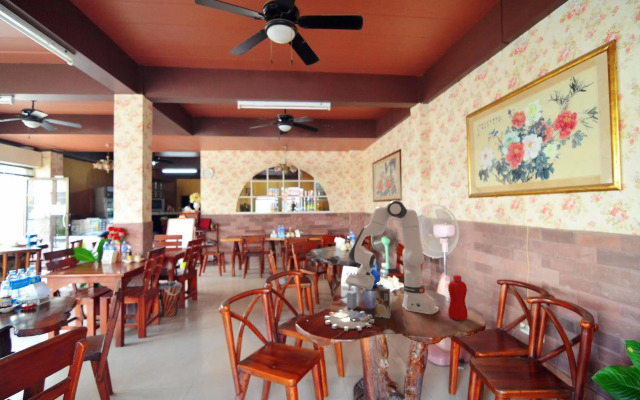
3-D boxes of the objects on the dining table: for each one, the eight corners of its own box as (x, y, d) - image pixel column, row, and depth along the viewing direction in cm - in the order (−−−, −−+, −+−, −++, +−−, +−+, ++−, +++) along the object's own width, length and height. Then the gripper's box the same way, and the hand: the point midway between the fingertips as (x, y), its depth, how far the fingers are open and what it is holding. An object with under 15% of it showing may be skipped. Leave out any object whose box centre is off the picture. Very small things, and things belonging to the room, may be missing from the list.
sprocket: (383, 319, 178) (383, 316, 178) (354, 336, 157) (354, 332, 157) (344, 308, 198) (344, 305, 198) (314, 321, 176) (314, 318, 176)
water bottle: (444, 317, 180) (443, 275, 180) (455, 313, 186) (455, 273, 186) (458, 322, 172) (457, 278, 172) (469, 318, 178) (469, 276, 178)
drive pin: (356, 307, 200) (356, 292, 200) (352, 309, 196) (352, 293, 196) (351, 305, 203) (351, 290, 203) (347, 307, 199) (346, 292, 199)
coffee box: (391, 315, 185) (390, 288, 185) (389, 318, 179) (389, 291, 179) (376, 313, 188) (375, 287, 189) (374, 317, 182) (373, 290, 183)
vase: (384, 287, 244) (383, 263, 244) (362, 289, 240) (362, 265, 240) (375, 281, 261) (374, 259, 262) (354, 283, 258) (354, 260, 258)
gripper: (348, 269, 215) (340, 286, 208) (373, 274, 201) (365, 292, 194) (352, 274, 218) (344, 291, 211) (377, 279, 204) (369, 297, 197)
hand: (354, 291), depth 202 cm, fingers open, 8 cm apart
